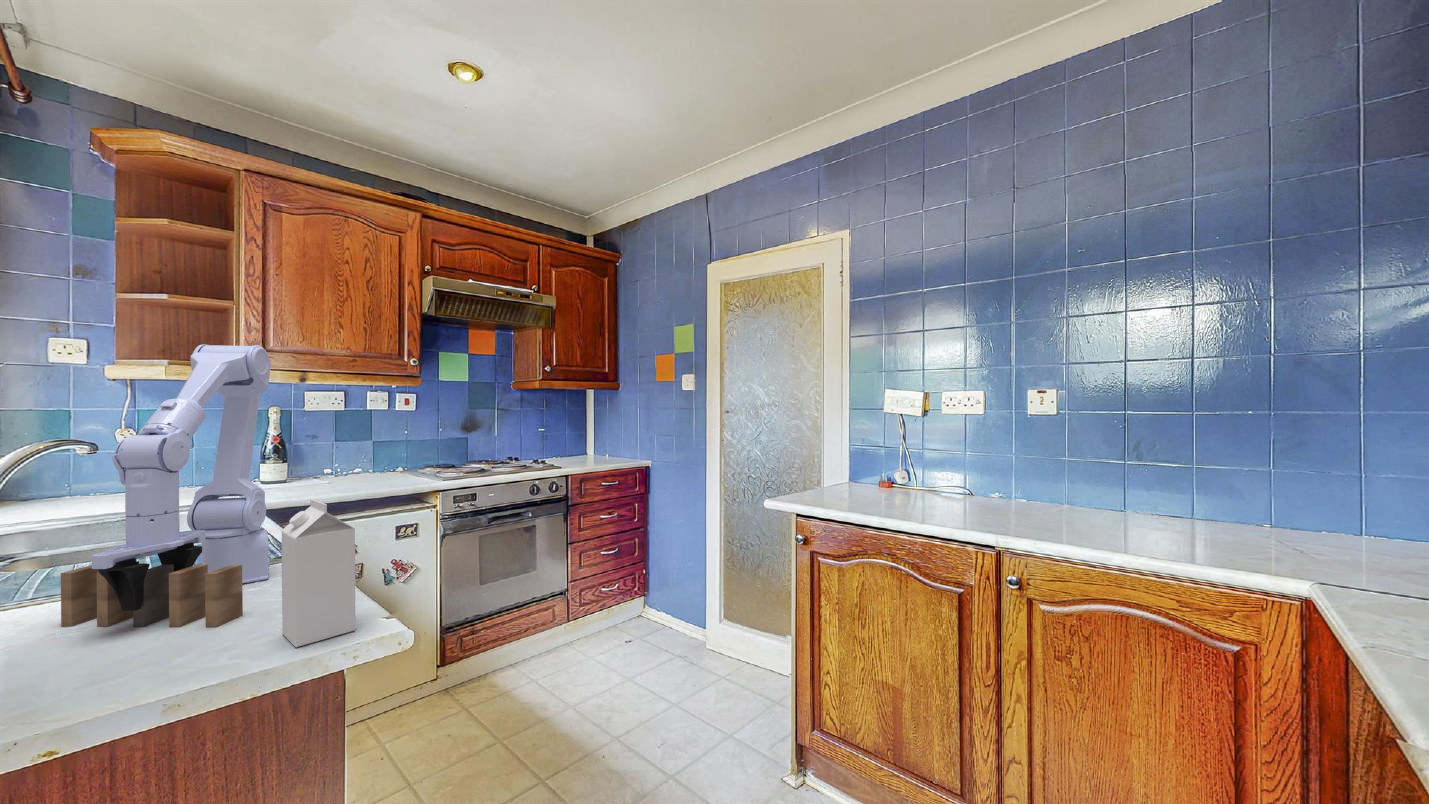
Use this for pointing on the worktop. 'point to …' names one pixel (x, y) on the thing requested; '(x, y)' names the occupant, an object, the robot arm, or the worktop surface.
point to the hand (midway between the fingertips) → (153, 601)
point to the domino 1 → (78, 596)
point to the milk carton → (317, 576)
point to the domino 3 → (187, 595)
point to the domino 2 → (109, 605)
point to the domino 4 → (223, 595)
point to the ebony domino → (154, 596)
